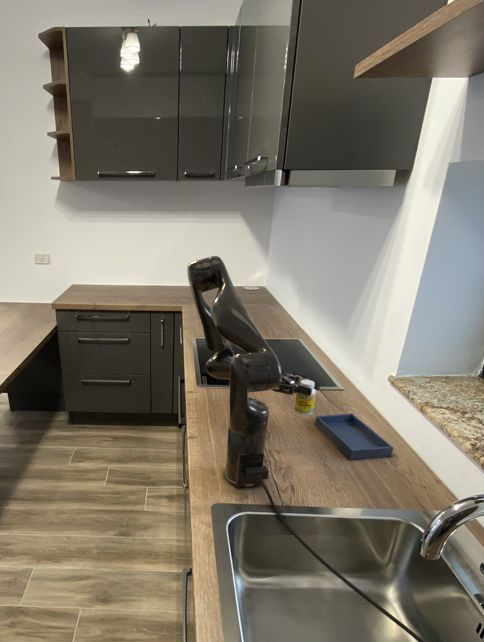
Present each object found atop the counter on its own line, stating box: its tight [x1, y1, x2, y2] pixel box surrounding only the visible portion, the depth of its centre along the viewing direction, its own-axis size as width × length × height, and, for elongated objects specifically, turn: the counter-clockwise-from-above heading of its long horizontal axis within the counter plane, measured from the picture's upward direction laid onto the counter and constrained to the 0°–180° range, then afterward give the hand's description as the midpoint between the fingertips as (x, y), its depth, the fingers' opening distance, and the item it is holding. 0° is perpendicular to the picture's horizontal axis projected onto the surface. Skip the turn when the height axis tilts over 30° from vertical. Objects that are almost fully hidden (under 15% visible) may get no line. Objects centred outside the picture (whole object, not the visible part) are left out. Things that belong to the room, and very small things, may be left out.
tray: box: [314, 413, 394, 461], centre depth 131 cm, size 21×12×3 cm, turn 9°
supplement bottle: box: [294, 379, 317, 416], centre depth 131 cm, size 5×5×10 cm
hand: (315, 389), depth 128 cm, fingers closed on supplement bottle, 5 cm apart
